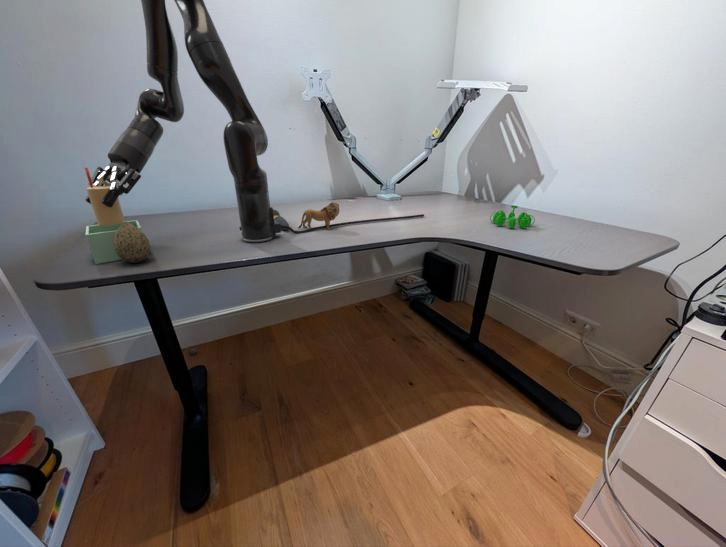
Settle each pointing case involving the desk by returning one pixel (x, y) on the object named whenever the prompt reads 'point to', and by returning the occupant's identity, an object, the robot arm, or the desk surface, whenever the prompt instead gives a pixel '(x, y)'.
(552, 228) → the desk surface
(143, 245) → the decorative egg
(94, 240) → the bin
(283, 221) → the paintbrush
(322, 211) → the lion figurine
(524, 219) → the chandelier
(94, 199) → the paper cup
